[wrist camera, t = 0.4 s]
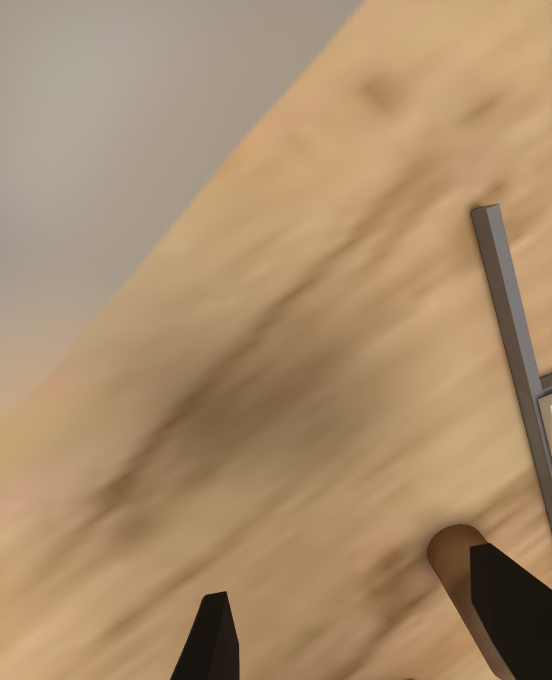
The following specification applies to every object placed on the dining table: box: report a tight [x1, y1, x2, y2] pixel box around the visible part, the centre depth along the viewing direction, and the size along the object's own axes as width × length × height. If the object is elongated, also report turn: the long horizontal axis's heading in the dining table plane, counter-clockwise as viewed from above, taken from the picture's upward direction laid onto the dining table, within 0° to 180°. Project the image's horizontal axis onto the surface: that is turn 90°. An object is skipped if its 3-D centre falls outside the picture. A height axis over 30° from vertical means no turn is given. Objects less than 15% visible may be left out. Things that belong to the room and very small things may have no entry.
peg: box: [428, 525, 516, 680], centre depth 20 cm, size 4×4×6 cm
